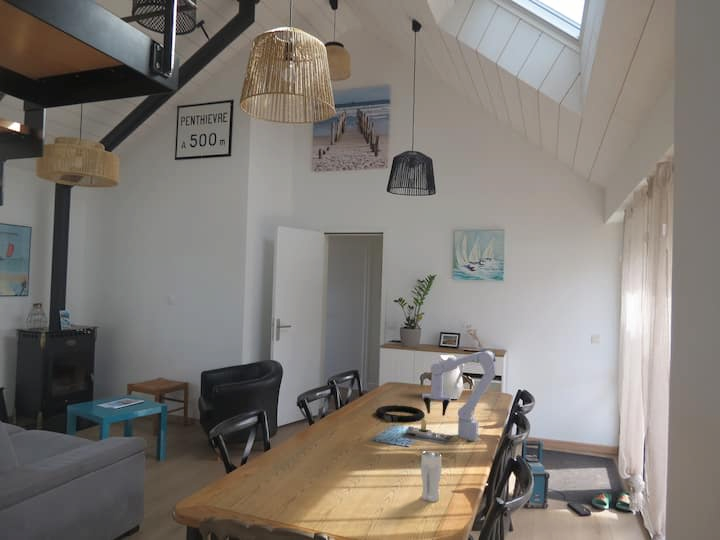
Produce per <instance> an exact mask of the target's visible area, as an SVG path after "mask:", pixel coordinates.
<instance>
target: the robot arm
mask: <svg viewBox="0 0 720 540" xmlns="http://www.w3.org/2000/svg"><path fill="white" fill-rule="evenodd" d="M472 362H474V363H479V364H480V365H481V366H482V368H483V372H484V374H483V375H482V377H481V378H480V380H479V382H478V383H477V385H476V387H475V388H474V390H473V391H472V393H471V394H470V396H469V398H468V399H467V400H466V401H465V403H464V404H463V405H462V406H461V407H460V408H459V409H458V410H457V416H458V421H457V422H458V424H457V425H458V426H457V429H458V430H457V435H458V437H460V438H463V439H466V440H467V441H470V442H476V441H477V440H478V439H479V421H478V420H475V419H474V417H473V416H474V414H475V409H476V407H477V405H478V403H479V402H480V400H481V399H482V397H483V396H484V394H485V392H486V390H487V389H488V387H490V386H489V385H491V382H492V381H493V379H494V378H495V377H496V374H497V364H496V363H497V358H496V356H495V354H494V352H492V351H491V350H484V351H478V352H474V353H470V354H467V355H466V356H461V357H459V358H457V359H455V358H451V357H449V358H448V359H447V360H444V361H442V360H438V362H435V363H433V364H432V365H431V366H430V372H431V381H430V382H431V385H430V393H422V394H421V396H422V399H423V402H424V405H425V408H426V414H430V413H431V400H438V401H442V402H441V403H442V412H441V413H442V416H443V417H445V415H446V413H447V408H448V406H449V404H450V402H452V400H451V397H448V396H443V372H448V371H451V370H454V369H457V367H458V365H459V366H461V364H464V365H465V364H468V363H472Z"/></svg>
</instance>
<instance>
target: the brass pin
mask: <svg viewBox="0 0 720 540" xmlns="http://www.w3.org/2000/svg"><path fill="white" fill-rule="evenodd" d="M420 423H421V424H420V429H421V432H426V429H427V418H425V417H424V418H422V419H421V420H420Z"/></svg>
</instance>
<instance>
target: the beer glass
mask: <svg viewBox="0 0 720 540" xmlns="http://www.w3.org/2000/svg"><path fill="white" fill-rule="evenodd" d="M442 465H443V464H442V454H441V453H440V452H437V451H434V450H426V451H423V452H422V453H421V461H420V471H421V480H422V492H421V499H422V500H423V501H426V502H431V503H434V502H438V501H439V500H440V494H439V493H440V492H439V485H440V481H441V475H442V467H443V466H442Z"/></svg>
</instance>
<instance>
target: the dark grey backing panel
mask: <svg viewBox="0 0 720 540" xmlns="http://www.w3.org/2000/svg"><path fill="white" fill-rule="evenodd" d="M431 433H434V432H432V431H431ZM436 433H437V432H436ZM437 434H440V433H439V432H438V433H437ZM444 434H445V433H444ZM445 435H447V439H446V440H445V441H442V440H435V439H429V438H422V437H416V434H413V433H407V432H406V431H405V433H404V434H402V435H401V436H400V438H402V439H403V438H404V439H410V440H413V441H414V440H416V441H420V442H421V441H423V442H429V443H432V444H433V443H435V444H441V445H447V444H448V443H449V442H450V441H451V440H452V439H453V437H454V435H453V434H452V435H451V434H445Z"/></svg>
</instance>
